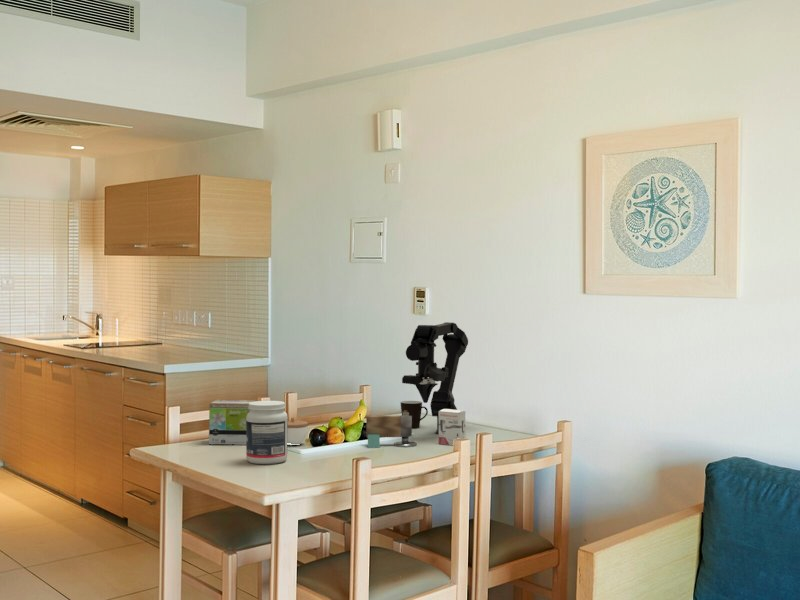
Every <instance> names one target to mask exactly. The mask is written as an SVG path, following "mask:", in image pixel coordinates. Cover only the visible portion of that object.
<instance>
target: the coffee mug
mask: <svg viewBox="0 0 800 600" xmlns="http://www.w3.org/2000/svg"><path fill="white" fill-rule="evenodd" d="M399 403H400V410H401V416H402V415H408V416H412V430H416V429H419V428H420V427H421V421H422V420H423V419H425V418H426V416H428V414H429V411H428V408H427V407H426V406H424V405H423V401H420V400H403V401H400V402H399ZM422 409H424V410H425V412H426V413H425V414H424V415H423V416H422ZM421 416H422V417H421Z"/></svg>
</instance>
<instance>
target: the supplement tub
mask: <svg viewBox="0 0 800 600" xmlns="http://www.w3.org/2000/svg"><path fill="white" fill-rule="evenodd" d="M248 409H249V410H250V412H249V413H248V414H247V416H246V445H245V446H246V451H245V452H246V453H245V454H246V460H247V461H248V462H249V463H251V464H254V465H256V464H257V465H275V464H281V463H283V462H285V461H286V460H287V459H288V457H289V455H288V446H287V442H288V440H287V432H288V413H287V412H286V411H285V409H286V402H284V401H281V400H257V401H255V402H250V403H249V407H248Z"/></svg>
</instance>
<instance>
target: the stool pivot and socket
mask: <svg viewBox="0 0 800 600" xmlns="http://www.w3.org/2000/svg"><path fill="white" fill-rule="evenodd" d="M380 438H381V437H380V433H368V437H367V448H368V449H369V448H370V449H371V448H373V449H375V448H377V449H379V448H380V444H381V442H380ZM409 439H410V437H401V440H400V441H395V442H393V446H395V447H398V448H412V447H416V446H417V445H418V442H415V441H410V440H409Z"/></svg>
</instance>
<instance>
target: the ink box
mask: <svg viewBox="0 0 800 600" xmlns="http://www.w3.org/2000/svg"><path fill="white" fill-rule="evenodd" d="M457 438H466V410H463V409H457V410H454V409H442V410H440V411H439V434H438V444H439V445H447V446H453V445H452V444H453V440H454V439H457Z"/></svg>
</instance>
